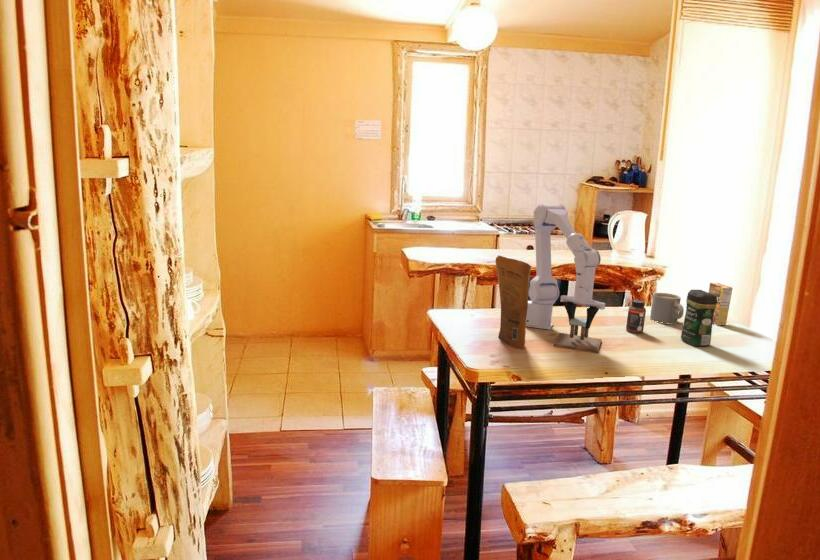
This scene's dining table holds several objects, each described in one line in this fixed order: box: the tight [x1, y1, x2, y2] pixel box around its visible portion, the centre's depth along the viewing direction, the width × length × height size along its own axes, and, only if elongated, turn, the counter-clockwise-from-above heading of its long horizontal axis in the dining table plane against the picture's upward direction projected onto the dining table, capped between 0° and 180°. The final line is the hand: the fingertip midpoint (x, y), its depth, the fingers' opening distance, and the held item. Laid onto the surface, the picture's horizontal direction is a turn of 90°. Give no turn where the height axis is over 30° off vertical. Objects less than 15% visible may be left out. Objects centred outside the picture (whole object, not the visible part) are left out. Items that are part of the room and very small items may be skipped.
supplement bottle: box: [625, 299, 647, 334], centre depth 222 cm, size 6×6×11 cm
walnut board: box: [553, 332, 603, 354], centre depth 204 cm, size 14×14×1 cm
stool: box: [569, 316, 590, 340], centre depth 203 cm, size 5×5×6 cm
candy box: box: [707, 282, 733, 326], centre depth 240 cm, size 9×4×15 cm, turn 8°
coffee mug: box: [649, 292, 685, 324], centre depth 238 cm, size 13×10×10 cm
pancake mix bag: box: [495, 255, 532, 350], centre depth 199 cm, size 7×19×28 cm, turn 19°
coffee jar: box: [680, 289, 717, 348], centre depth 210 cm, size 10×8×19 cm
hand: (579, 326), depth 203 cm, fingers closed on stool, 5 cm apart
